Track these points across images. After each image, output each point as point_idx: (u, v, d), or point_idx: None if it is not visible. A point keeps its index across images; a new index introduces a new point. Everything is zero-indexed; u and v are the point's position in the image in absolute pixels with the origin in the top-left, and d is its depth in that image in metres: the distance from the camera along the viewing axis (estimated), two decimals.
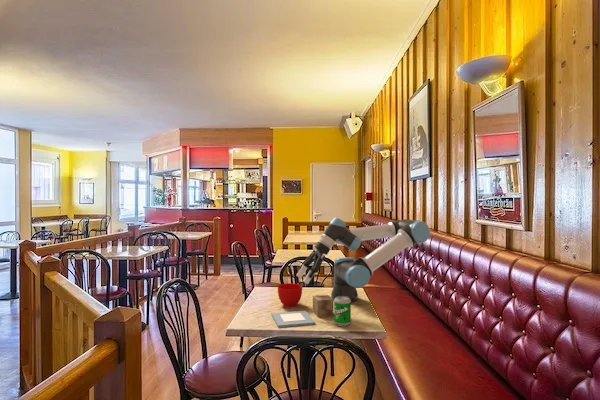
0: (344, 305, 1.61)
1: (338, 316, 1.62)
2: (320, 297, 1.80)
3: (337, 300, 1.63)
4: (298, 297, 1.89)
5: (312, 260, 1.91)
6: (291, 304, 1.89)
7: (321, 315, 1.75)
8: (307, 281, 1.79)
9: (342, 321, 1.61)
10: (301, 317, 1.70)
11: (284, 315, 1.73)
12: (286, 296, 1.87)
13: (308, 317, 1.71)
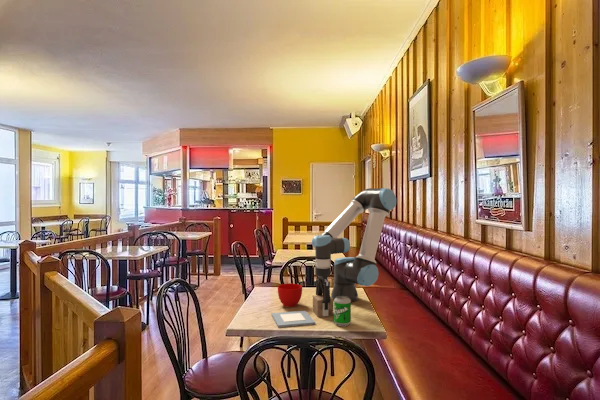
0: (344, 305, 1.61)
1: (338, 316, 1.62)
2: (320, 297, 1.80)
3: (337, 300, 1.63)
4: (298, 297, 1.89)
5: None
6: (291, 304, 1.89)
7: (321, 315, 1.75)
8: (326, 313, 1.75)
9: (342, 321, 1.61)
10: (301, 317, 1.70)
11: (284, 315, 1.73)
12: (286, 296, 1.87)
13: (308, 317, 1.71)
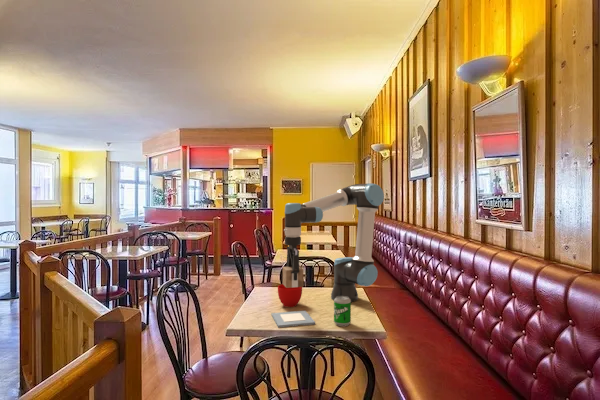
0: (344, 305, 1.61)
1: (338, 316, 1.62)
2: (290, 268, 1.71)
3: (337, 300, 1.63)
4: (298, 297, 1.89)
5: None
6: (291, 304, 1.89)
7: (290, 286, 1.66)
8: (296, 284, 1.66)
9: (342, 321, 1.61)
10: (301, 317, 1.70)
11: (284, 315, 1.73)
12: (286, 296, 1.87)
13: (308, 317, 1.71)
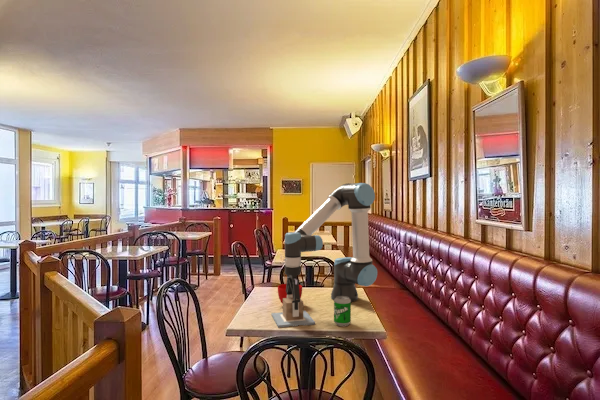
0: (344, 305, 1.61)
1: (338, 316, 1.62)
2: (290, 299, 1.71)
3: (337, 300, 1.63)
4: None
5: None
6: None
7: (290, 318, 1.66)
8: (296, 314, 1.65)
9: (342, 321, 1.61)
10: None
11: None
12: (286, 296, 1.87)
13: (308, 317, 1.71)
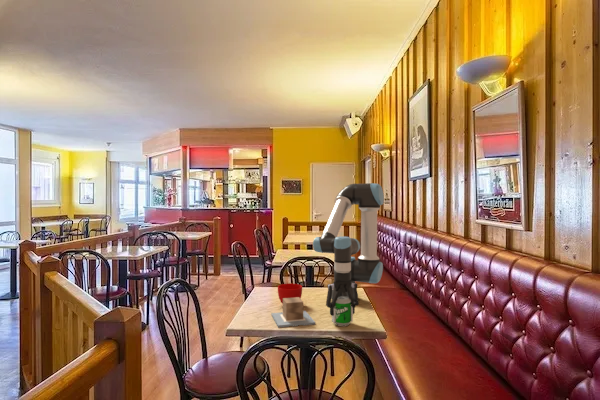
0: (344, 305, 1.61)
1: (338, 316, 1.62)
2: (290, 299, 1.71)
3: (337, 300, 1.63)
4: None
5: (347, 294, 1.65)
6: None
7: (290, 318, 1.66)
8: (333, 320, 1.64)
9: (342, 321, 1.61)
10: None
11: None
12: (286, 296, 1.87)
13: (308, 317, 1.71)
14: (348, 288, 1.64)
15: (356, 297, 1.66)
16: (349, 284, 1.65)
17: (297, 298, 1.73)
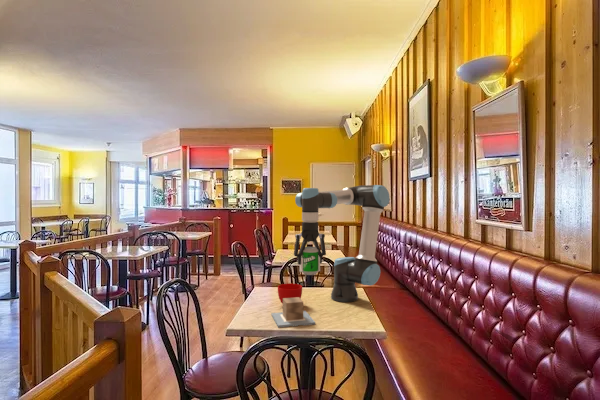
0: (311, 254, 1.64)
1: (306, 264, 1.65)
2: (290, 299, 1.71)
3: (304, 249, 1.66)
4: None
5: (315, 244, 1.68)
6: None
7: (290, 318, 1.66)
8: (300, 269, 1.67)
9: (310, 270, 1.64)
10: None
11: None
12: (286, 296, 1.87)
13: (308, 317, 1.71)
14: (315, 238, 1.67)
15: (323, 247, 1.69)
16: (316, 234, 1.68)
17: (297, 298, 1.73)
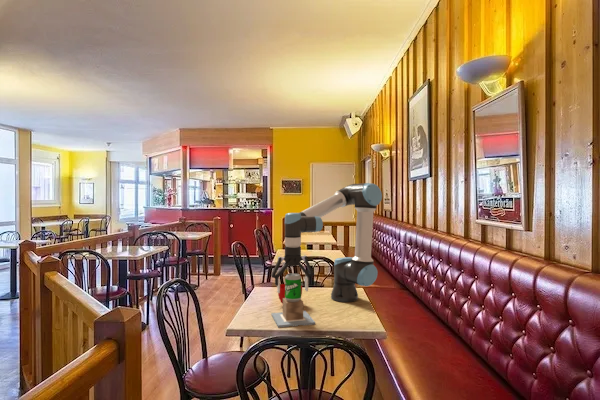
0: (293, 281, 1.66)
1: (288, 292, 1.67)
2: None
3: (287, 277, 1.68)
4: None
5: (300, 267, 1.71)
6: None
7: (290, 318, 1.66)
8: (277, 290, 1.68)
9: (292, 297, 1.67)
10: None
11: None
12: None
13: (308, 317, 1.71)
14: (298, 261, 1.69)
15: (310, 268, 1.71)
16: (299, 259, 1.70)
17: None
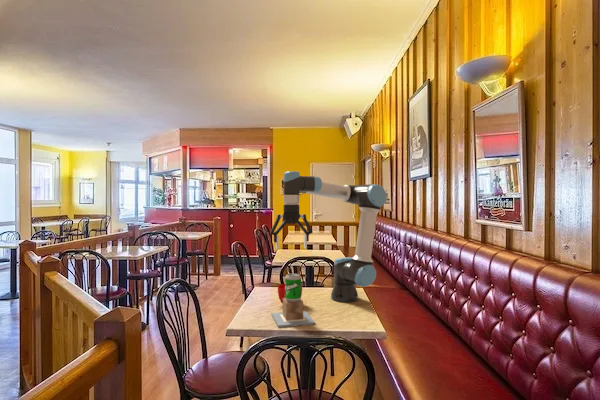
0: (293, 281, 1.66)
1: (288, 292, 1.67)
2: None
3: (287, 277, 1.68)
4: None
5: None
6: None
7: (290, 318, 1.66)
8: (276, 247, 1.71)
9: (292, 297, 1.67)
10: None
11: None
12: None
13: (308, 317, 1.71)
14: (297, 219, 1.72)
15: (308, 226, 1.74)
16: (298, 216, 1.73)
17: None
